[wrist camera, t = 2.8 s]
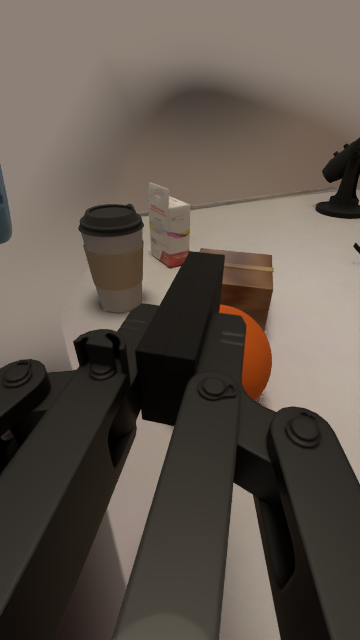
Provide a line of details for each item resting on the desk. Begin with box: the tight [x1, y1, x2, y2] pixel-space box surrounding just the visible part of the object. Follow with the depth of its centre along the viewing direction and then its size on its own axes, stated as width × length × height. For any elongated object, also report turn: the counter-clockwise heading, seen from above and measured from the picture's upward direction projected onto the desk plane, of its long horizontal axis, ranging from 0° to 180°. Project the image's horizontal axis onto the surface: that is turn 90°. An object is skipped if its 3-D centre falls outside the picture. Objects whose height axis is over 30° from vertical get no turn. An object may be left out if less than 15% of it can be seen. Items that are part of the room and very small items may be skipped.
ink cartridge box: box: [148, 182, 190, 267], centre depth 60 cm, size 9×5×15 cm, turn 32°
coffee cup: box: [79, 204, 144, 313], centre depth 45 cm, size 9×9×15 cm
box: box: [199, 248, 273, 332], centre depth 44 cm, size 11×11×8 cm
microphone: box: [316, 138, 360, 219], centre depth 87 cm, size 15×17×25 cm
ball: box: [219, 305, 272, 401], centre depth 30 cm, size 11×11×11 cm
